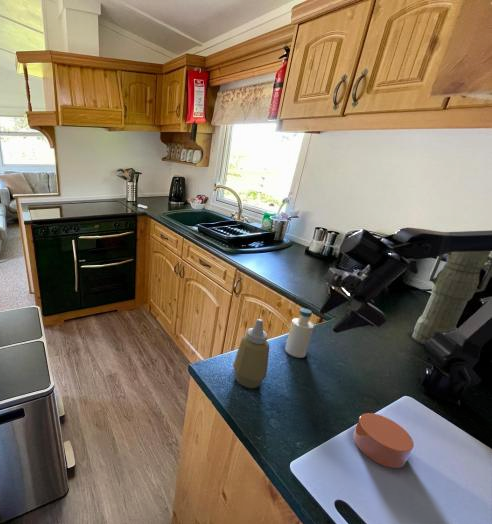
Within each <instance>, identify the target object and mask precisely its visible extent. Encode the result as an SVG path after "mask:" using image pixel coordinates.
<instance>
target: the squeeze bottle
mask: <svg viewBox="0 0 492 524" xmlns="http://www.w3.org/2000/svg"><path fill="white" fill-rule="evenodd" d="M269 355H270V343H269V341H268V334H267V332H266V331H264V321H263V319H262V318H257V319H256V321H255V323H254V325H253V327H250V328H248V329H247V330H246V334H244V335H243V336H241V340H240V343H239V346H238V349H237V353H236V355H235V359H234V361H233V365H232V366H233V371H234V376H235V379H236V381H237V383H238V384H239V385H241V386H242V387H245V388H247V389H257V388H258V387H259V386H260V385H261V384H262V383H263V381H264V380H265V379H266V377H267V374H268V366H269V365H268V364H269Z"/></svg>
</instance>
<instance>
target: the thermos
mask: <svg viewBox="0 0 492 524" xmlns="http://www.w3.org/2000/svg"><path fill="white" fill-rule="evenodd" d="M490 254H491V251H475V252H450V253H447V255H448V256H447V258H446V263H445V264H444V265H443V268H442V269H441V270H440V271H438V268H439V266H440V264H441V261H442V259H443V257H444V256H445V254H443V255H440V256H438V257H436V258H435V262H434V263H433V266H432V268H431V271H430V274H429V277H428V281H429V282H432V286H431V294H430V296H429V298H428V300H427V303H426V306H425V308H424V310H423V313H422V314H421V315H420V316H419V318H418V319H417V321H416V323H415V326H414V328H413V330H414V331H413V332H412V335H411V338H412V339H413V340H414V341H416V342H417V343H418V344H421V345H424V346H425V345H426V344H427V343H426V342H425V341H427V340H429V339H430V338H432V337H433V335H434V334H435V333H436V332H438V331H440V332H442V333H443V334H445V333H449V332H453V331H455V330H457V325H458V323H459V320H460V318H461V317H462V314H463V313H464V310H465V308H466V306H467V303H469V301H471V300H472V299H473V297H474V295H475V294H476V293H480V292H483V291H485V290H486V287H487V286H488V284H489V281H490V280H491V277H492V257H490ZM486 262H490V264H489V265H488V268H487V270H486V272H485V274H484V276H483V278H482V280H481V282H480V275H481V271H482V269H483V268H484V267H485V264H486ZM437 271H438V272H437ZM435 275H436V276H435Z"/></svg>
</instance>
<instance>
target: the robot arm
mask: <svg viewBox="0 0 492 524" xmlns="http://www.w3.org/2000/svg"><path fill="white" fill-rule="evenodd" d="M388 251H389V252H392V253H387V252H388ZM475 251H490V252H492V230H467V231H466V230H465V231H439V230H431V229H426V228H419V227H418V228H417V227H403V228H400V229H398V230H397V231H396V232H395V233H392V234H388V235H385V236H381V237H376V236H375V235H374V234H373V233H372V232H370V231H369V230H367V229H364V228H361V229H360V230H359V231H357V232H355V233H353V234H351V235H349V236H348V237H345V238H344V240H343V241H342V242H341V244H340V246H339V252H340V253H341V254H343V255H344V256H346V257H347V258H349V259H351V260H352V261H353V262H355V263H357V264H358V265H360V266H363V267H364V269H363V270H362V269H360V268H358V269H356V270H354V271H352V272H349V271H347V270H342V269H339V268H335V267H329V268H328V271H327V273H326V275H325V277H324V280H325V281H326V282H327V283H326V287H327V292H328V293H327V296H326V297H325V300H324V301H323V304H322V305H321V307H320V309H319V313H320V314H321V315H325V314H327V313H329V312H330V311H332V310H334V309H336V308H338V307H339V306H341V305H343V304H345V303H347V302H348V301H351V302H350V304H349V305H350V306H349V305H346V313H345V314H344V315H343V317H342V318H341V319H340V320H339V321H338V322H337V323H336V324H335V326H334V327H333V328H332V331H333V332H334V333H335V334H338V333H341V332H345V331H349V330H354V329H357V328H358V329H359V328H363V327H369V326H371V327H374V326H376V327H378V328H380V327H381V326H382V325H383V324H385V323H386V322H387V315H386V314H385V313H384V312H383V311H382V310H380V309H379V308H378V307H377V306H375V305H374V304H376V302H375V300H374V299H375V298H376V297H377V296H378V295H379V294H380V293H381V292H383V293H385V294H387V293H388V292H389V291H390V289H389V288H388V286H390V285H391V284H392V283H393V282H394V281H395V280H396V279H397V278H398V277H399V276H400V275H402V274H403V273H404V272H405V271H406V270H407V271H409V272H410V273H412V274H414V275H416V274H418V273H419V270H418V266H417V264H418V261H417V260H424V259H432V258H437V257H438V256H440V255H443V254H444V255H445V254H448V253H450V252H475ZM444 255H443V256H444ZM404 256H407V257H408V258H405V257H404ZM365 266H366V267H365ZM491 339H492V297H491V298H490V299H488V300H487V301H486V302H485V303H484V304H483V305H482V306H481V307H480V308H478V309H477V310H476V311H475V312H474V313H473V314H472V315H471V316H470V317H469V318H467V319H466V320H465V321H464V322H463V323H462V324H461V325H459V327H458V328H456V330H455V331H453V332H449V333H445V334H443V333H442V332H440V331H438V332H436V333H435V334H434V335H433V337H432V338H430V339H429V340H427V341H425V342H426V343H427V344H426V345H424V347H423V351H424V354H425V355H426V360H427V361H428V362H429V363H430V364H431V365H430V367H429V368H428V367H427V368H425V371H424V372H423V375H422V377H421V379H420V386H421V387H422V391H423V393H424V394H426V395H429V396H432V397H434V398H436V399H439V400H441V401H445V402H447V403H450V404H452V405H454V406H456V407H457V406H458V407H460V406H461V401H460V400H461V398H462V396H463V393H464V392H465V391H466V388H468V387H476V386H477V385H479V384H480V383H481V382H482V379H481V377H480V376H479V375H478V374H477V372H476V371H475V370H474V369H473V368H474V366H476V364H477V363H478V362H479V360H480V356H481V349H482V347H483V346H484V345H485V344H486V343H487V342H489V341H490V340H491Z"/></svg>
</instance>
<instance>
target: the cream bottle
mask: <svg viewBox="0 0 492 524" xmlns="http://www.w3.org/2000/svg"><path fill="white" fill-rule="evenodd" d="M312 314H313V311H312V310H311V309H308V308H305V307H301V308H300V309H299V315H298V317H294V318H293V319H292V320H291V323H290V328H289V332H288V334H287V335H288V336H287V339H286V344H285V346H284V350H285V352H286V353H287V354H288V355H289V356H292V357H294V358H299V359H300V358H301V359H302V358H305V357H306V356H307V352H308V350H309V349H308V348H309V345H310V343H311V342H310V341H311V338H312V334H313V331H314V327H315V325H314V323H313V322H311V320H310V319H311V317H312Z"/></svg>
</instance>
